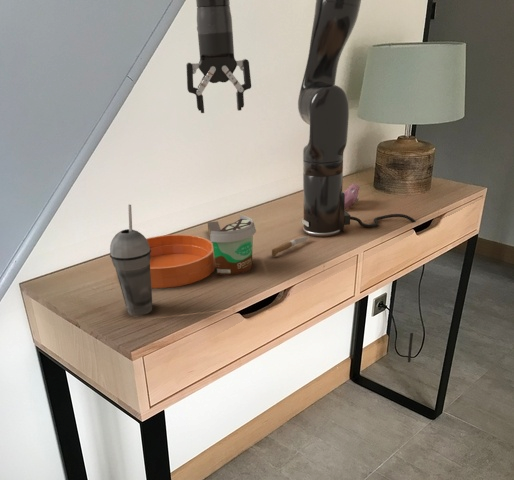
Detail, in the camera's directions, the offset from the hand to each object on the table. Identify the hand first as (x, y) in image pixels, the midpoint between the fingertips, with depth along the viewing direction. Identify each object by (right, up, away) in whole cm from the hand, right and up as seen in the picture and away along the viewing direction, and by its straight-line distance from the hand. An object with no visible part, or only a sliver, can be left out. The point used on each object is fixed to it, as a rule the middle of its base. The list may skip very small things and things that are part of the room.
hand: (221, 111), depth 133 cm
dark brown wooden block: (-1, -28, +7) cm, 29 cm away
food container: (+5, -38, -10) cm, 39 cm away
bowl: (-11, -37, -8) cm, 40 cm away
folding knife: (+16, -32, 0) cm, 36 cm away
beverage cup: (-14, -48, -25) cm, 55 cm away
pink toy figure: (+33, -15, +27) cm, 45 cm away
